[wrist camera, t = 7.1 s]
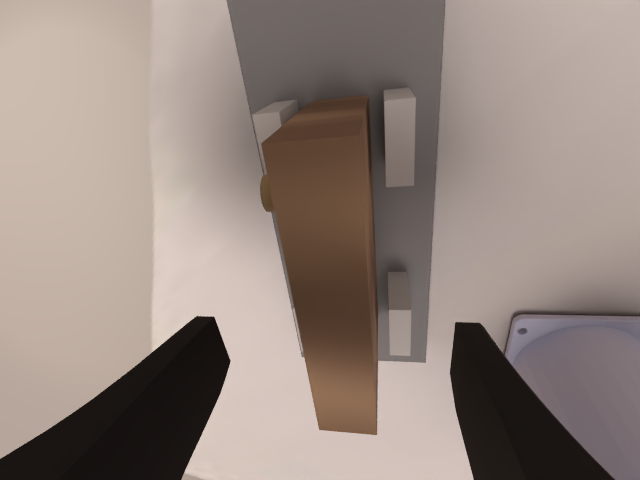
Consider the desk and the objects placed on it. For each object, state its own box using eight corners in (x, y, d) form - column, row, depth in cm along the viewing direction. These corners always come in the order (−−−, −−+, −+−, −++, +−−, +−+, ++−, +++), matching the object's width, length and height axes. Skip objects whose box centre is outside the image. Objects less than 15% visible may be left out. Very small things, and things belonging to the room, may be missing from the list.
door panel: (378, 315, 19) (377, 435, 14) (324, 314, 20) (301, 428, 14) (368, 94, 14) (359, 135, 8) (293, 102, 14) (230, 146, 8)
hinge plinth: (423, 344, 22) (431, 407, 18) (306, 339, 24) (291, 397, 20) (441, -39, 12) (468, -76, 8) (239, -3, 14) (185, -21, 10)
